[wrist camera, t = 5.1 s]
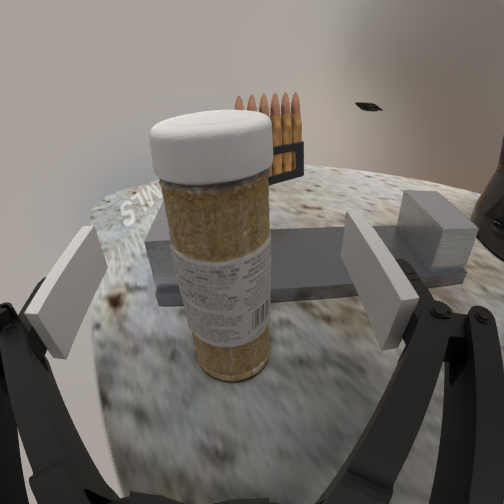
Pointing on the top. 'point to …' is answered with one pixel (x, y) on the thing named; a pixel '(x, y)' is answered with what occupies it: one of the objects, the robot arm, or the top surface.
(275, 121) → the ammunition clip
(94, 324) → the top surface
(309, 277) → the rail
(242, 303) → the sprinkles bottle
